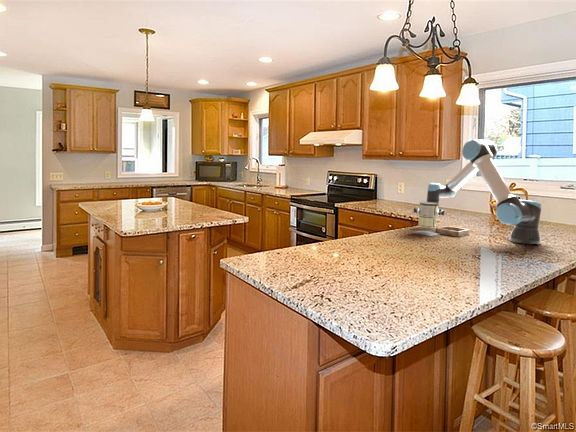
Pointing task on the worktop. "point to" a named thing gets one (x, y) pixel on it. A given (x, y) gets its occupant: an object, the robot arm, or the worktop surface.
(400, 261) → the worktop surface
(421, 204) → the coffee can
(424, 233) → the rubber mat
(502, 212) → the robot arm
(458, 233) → the wooden tray
